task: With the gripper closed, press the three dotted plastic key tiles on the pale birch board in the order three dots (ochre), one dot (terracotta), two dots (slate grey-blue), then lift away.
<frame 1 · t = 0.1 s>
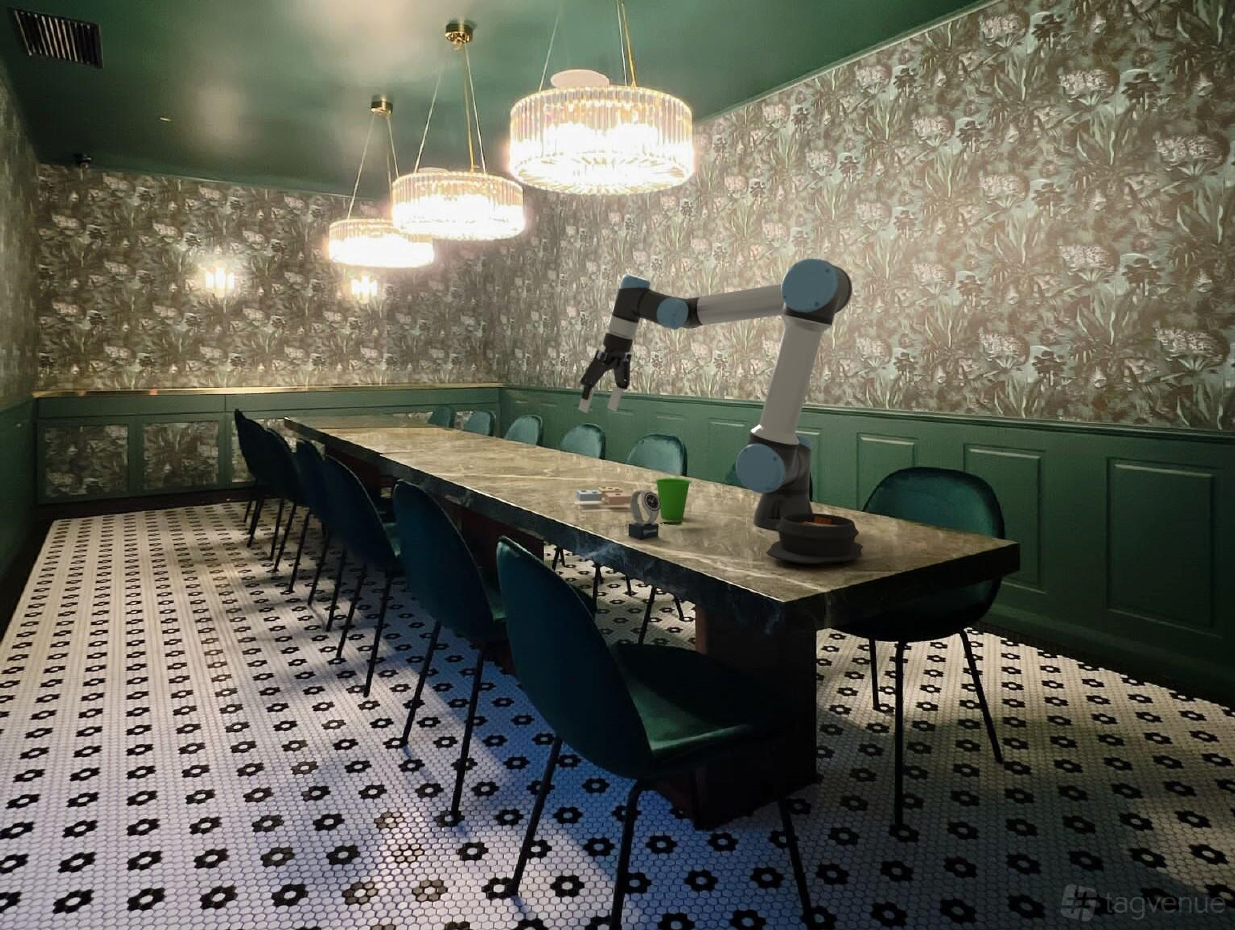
hand: (597, 410, 203), 28 cm above the table, tool tilted 20°, fingers open, 13 cm apart
watch: (643, 537, 176), on the table
cup: (671, 523, 192), on the table
tile three: (610, 491, 213), point 4 cm above the table, slide at 0.0 cm
tile two: (589, 495, 207), point 4 cm above the table, slide at 0.0 cm
casserole: (815, 559, 159), on the table
tile one: (617, 497, 204), point 4 cm above the table, slide at 0.0 cm
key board: (603, 509, 208), on the table
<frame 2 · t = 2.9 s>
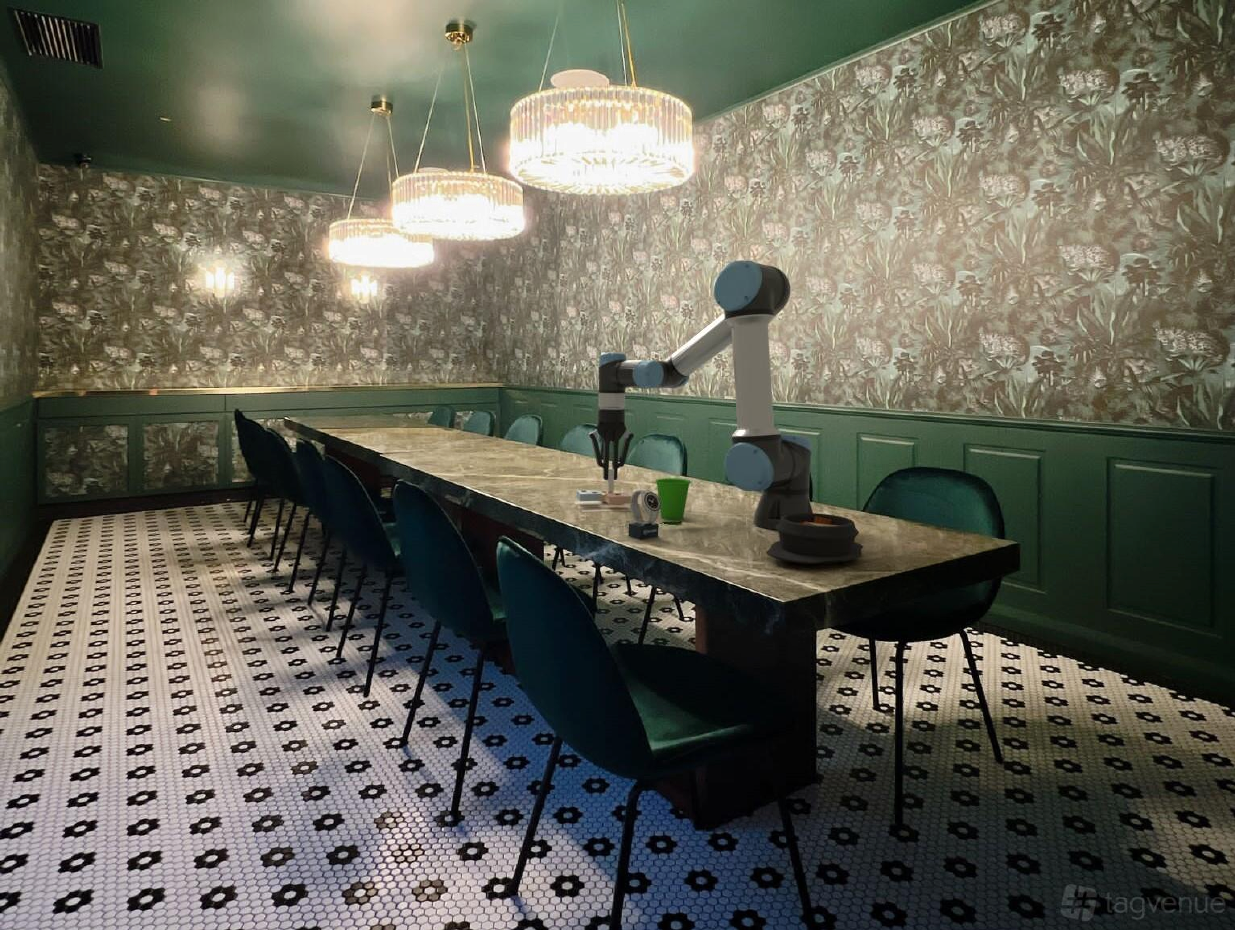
hand: (610, 491, 213), 4 cm above the table, tool pointing down, fingers closed
tile three: (610, 496, 214), point 3 cm above the table, slide at 1.2 cm, touching gripper
everything else where it was.
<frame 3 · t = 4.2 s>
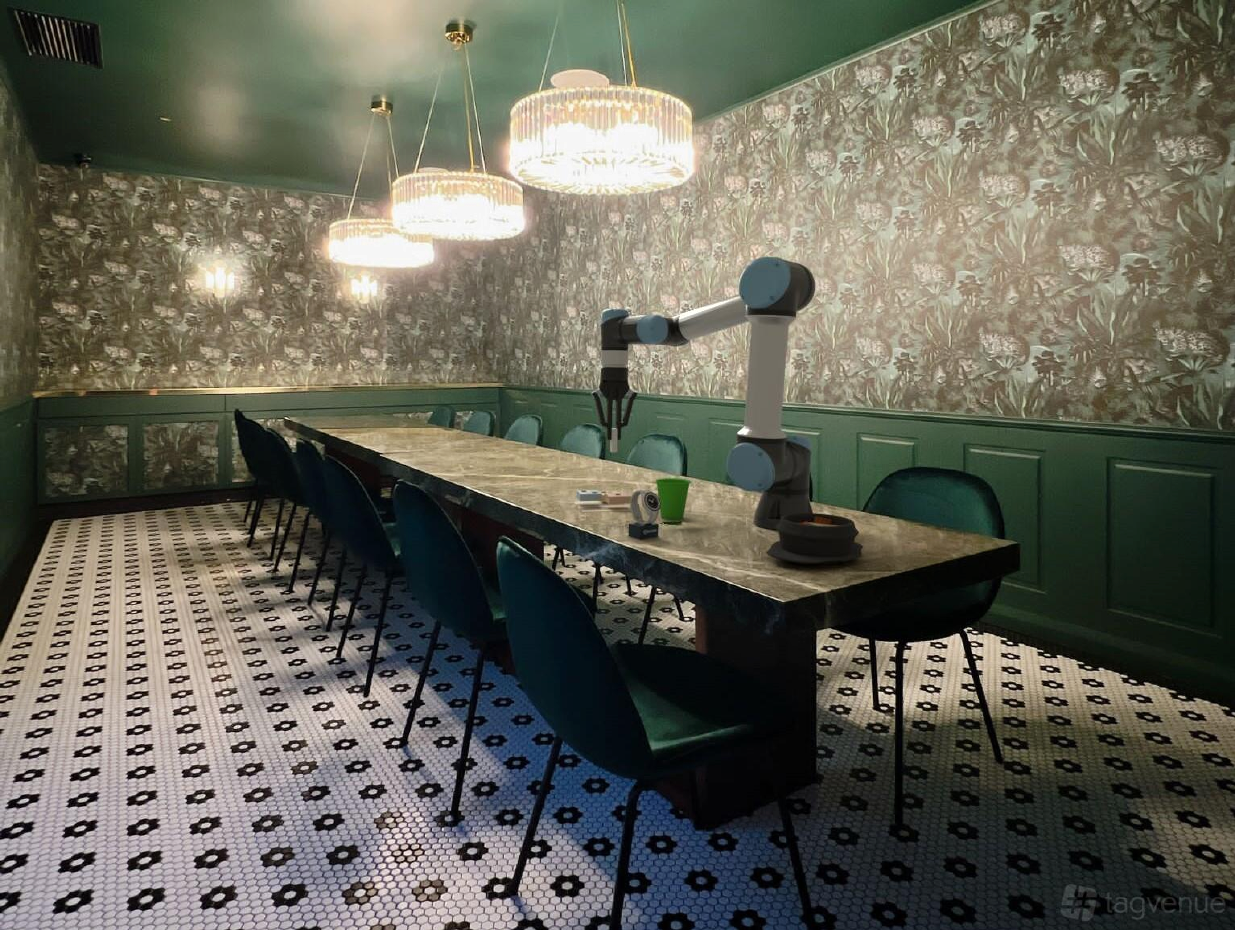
hand: (613, 451, 209), 16 cm above the table, tool pointing down, fingers closed
tile three: (610, 496, 214), point 3 cm above the table, slide at 1.3 cm
everything else where it was.
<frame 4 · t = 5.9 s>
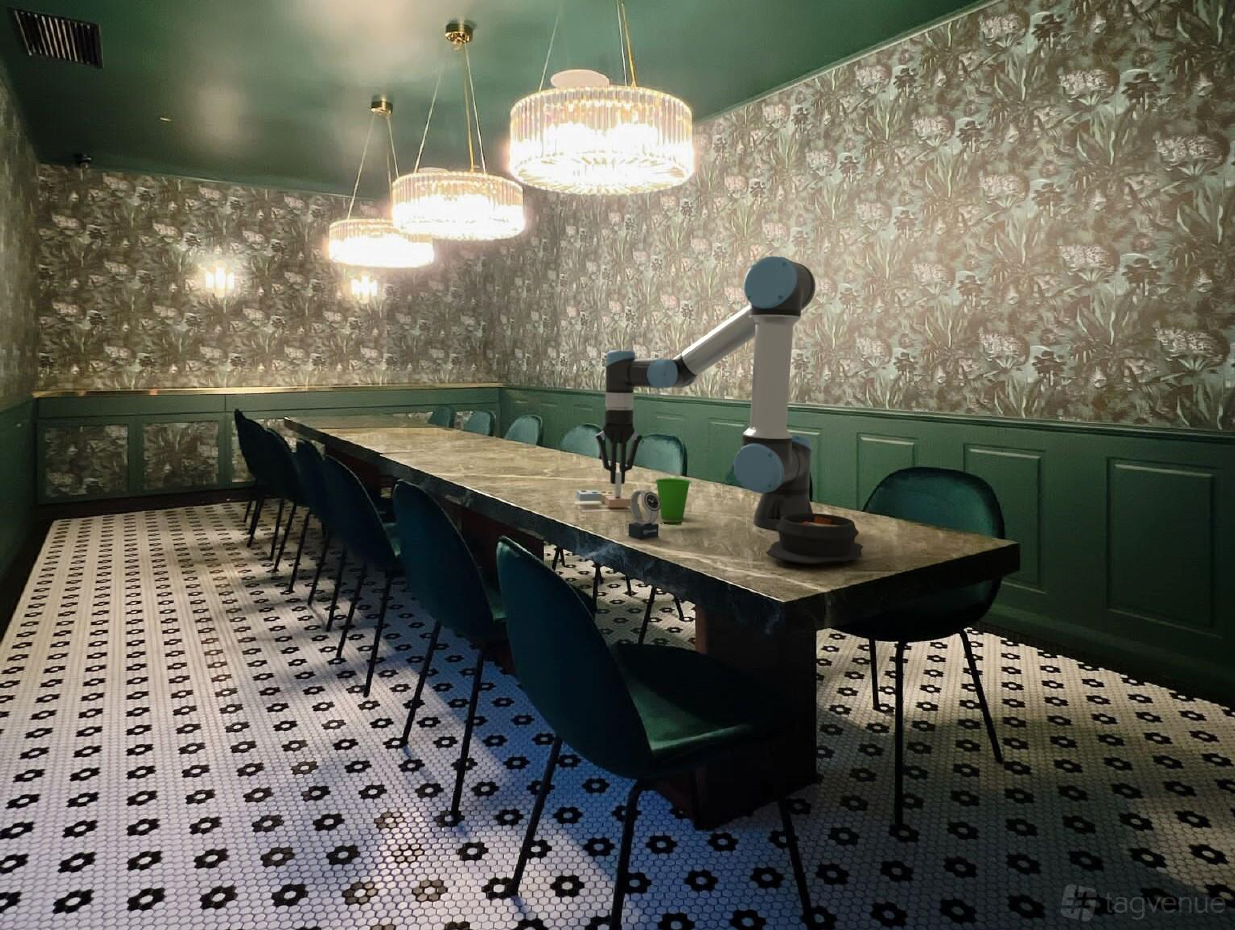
hand: (617, 495, 204), 5 cm above the table, tool pointing down, fingers closed
tile one: (617, 500, 204), point 3 cm above the table, slide at 0.8 cm, touching gripper
everything else where it was.
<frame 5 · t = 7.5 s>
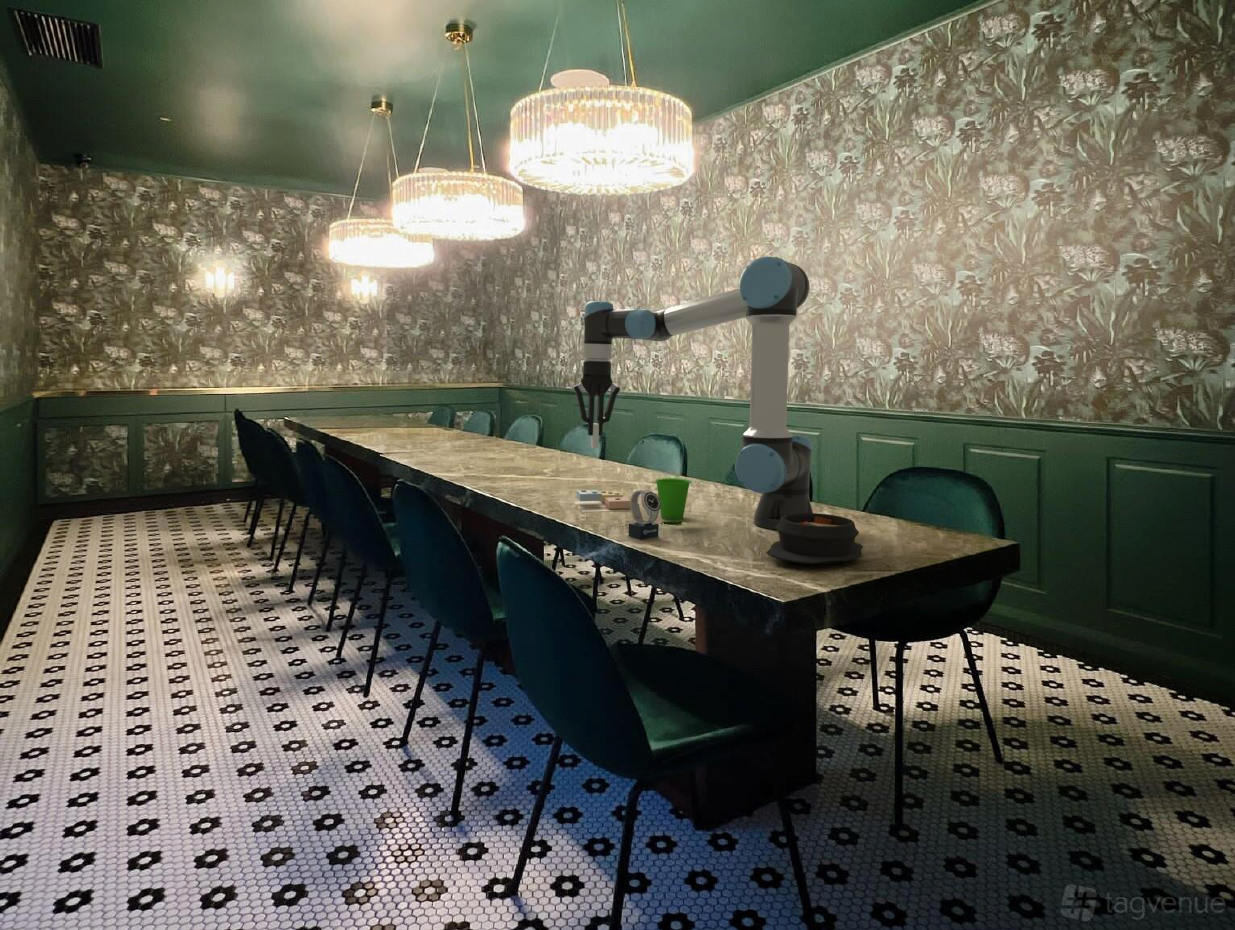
hand: (594, 447, 205), 18 cm above the table, tool pointing down, fingers closed
tile one: (617, 502, 204), point 3 cm above the table, slide at 1.3 cm
everything else where it was.
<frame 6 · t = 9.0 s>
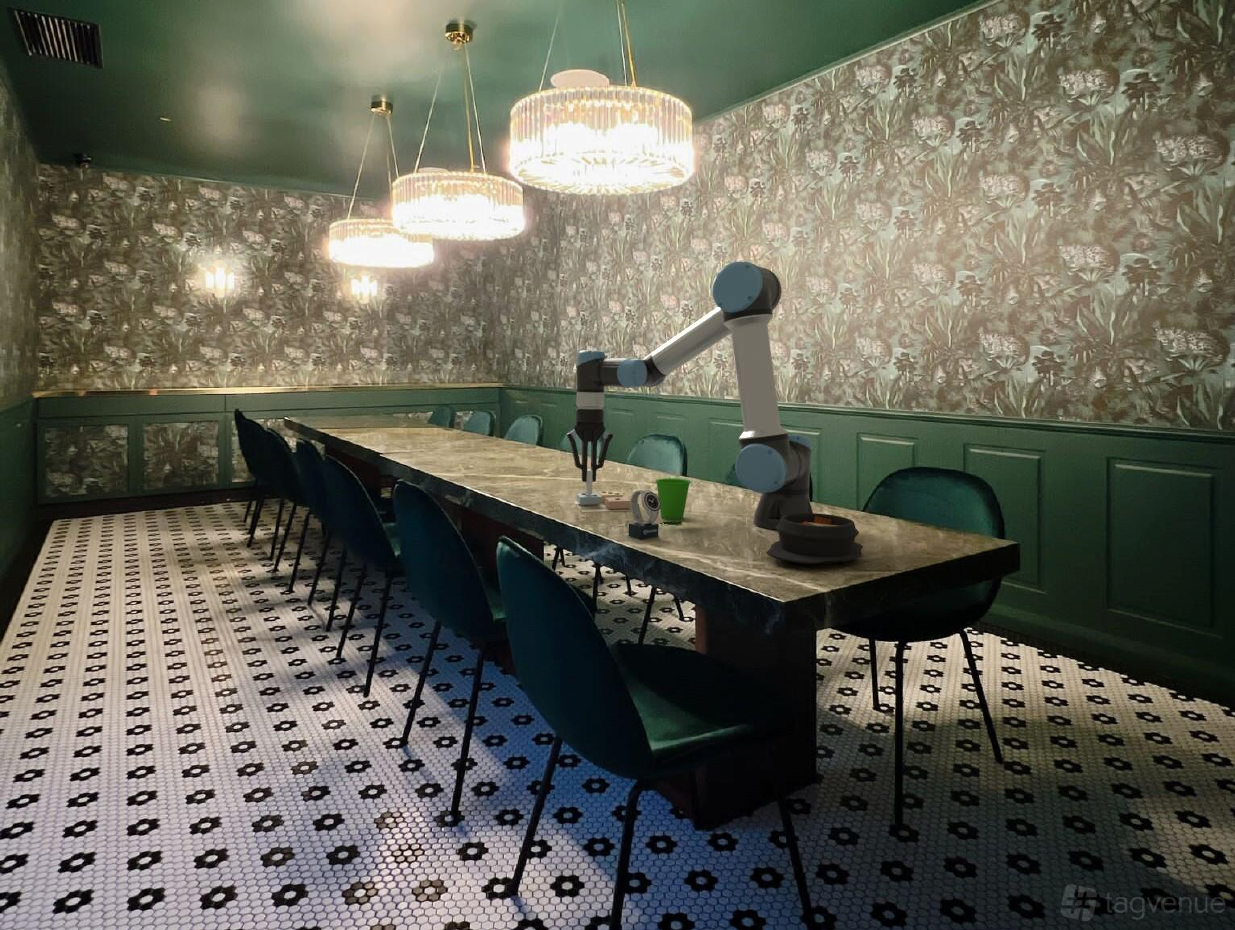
hand: (588, 493, 207), 5 cm above the table, tool pointing down, fingers closed
tile two: (589, 498, 207), point 3 cm above the table, slide at 0.9 cm, touching gripper
everything else where it was.
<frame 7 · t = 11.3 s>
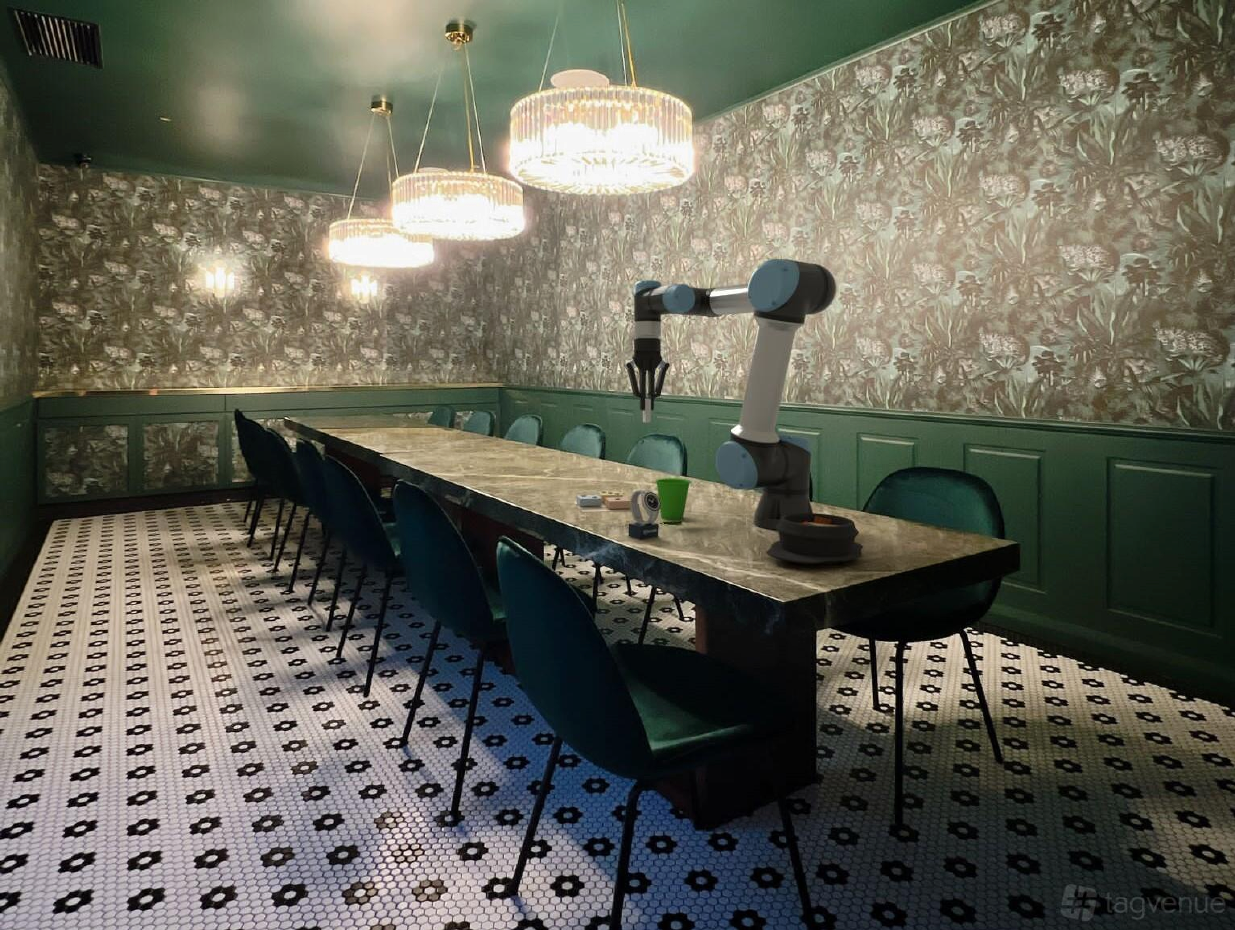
hand: (646, 422, 212), 24 cm above the table, tool pointing down, fingers closed
tile two: (589, 499, 207), point 3 cm above the table, slide at 1.3 cm
everything else where it was.
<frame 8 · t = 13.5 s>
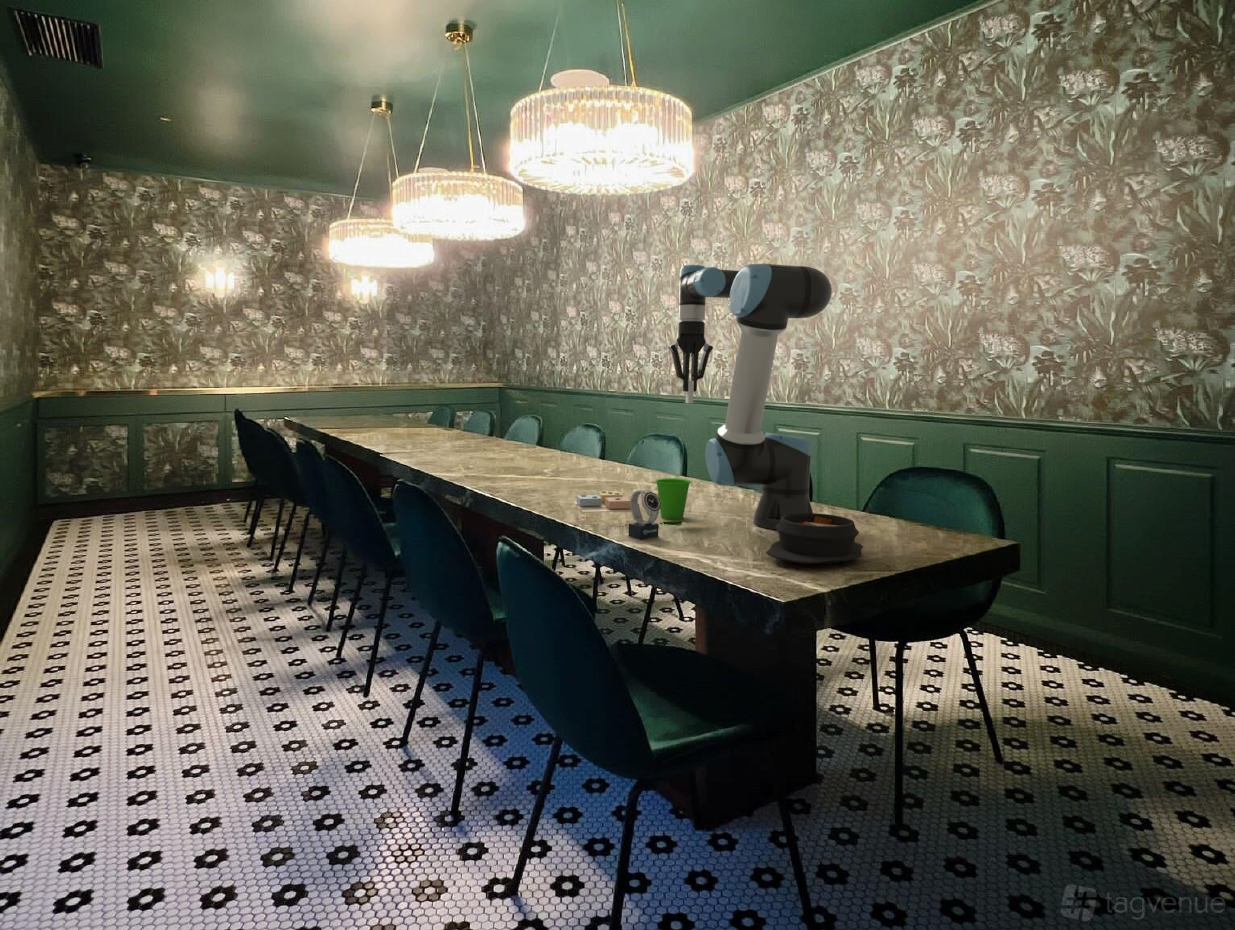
hand: (689, 403, 219), 29 cm above the table, tool pointing down, fingers closed
nothing on the table moved.
at the end: tile three slide at 1.3 cm; tile one slide at 1.3 cm; tile two slide at 1.3 cm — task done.
